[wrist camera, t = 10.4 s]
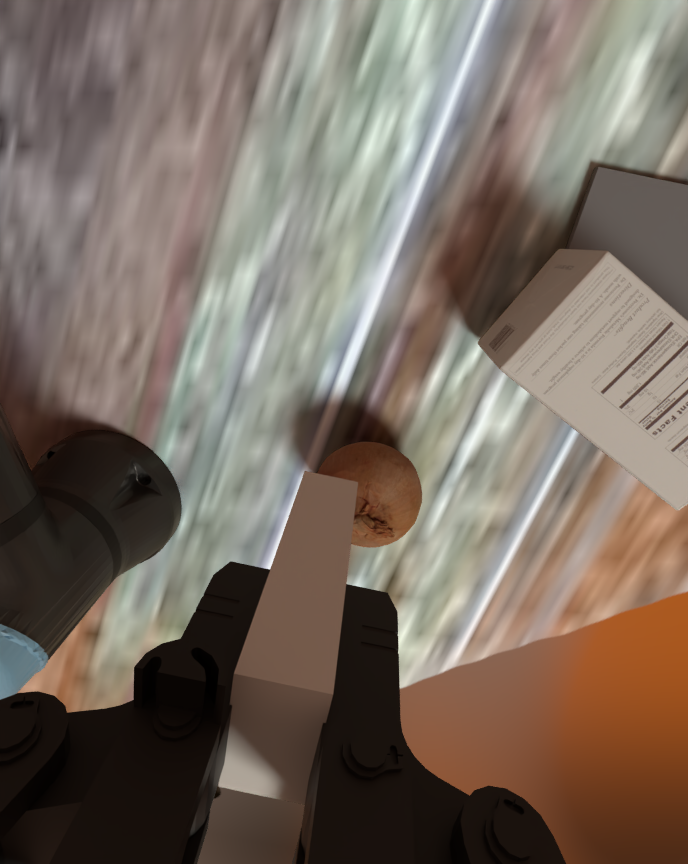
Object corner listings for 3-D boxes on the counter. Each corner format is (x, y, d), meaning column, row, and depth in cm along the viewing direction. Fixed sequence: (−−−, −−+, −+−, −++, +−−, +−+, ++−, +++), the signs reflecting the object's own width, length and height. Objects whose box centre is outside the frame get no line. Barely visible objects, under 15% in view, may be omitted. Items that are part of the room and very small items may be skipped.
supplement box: (496, 370, 30) (680, 517, 33) (610, 246, 27) (805, 419, 29) (475, 342, 39) (620, 459, 42) (558, 246, 36) (712, 379, 38)
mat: (746, 426, 40) (752, 430, 39) (519, 375, 41) (521, 378, 40) (865, 224, 34) (876, 224, 33) (594, 168, 34) (598, 166, 34)
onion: (437, 449, 44) (446, 505, 35) (393, 524, 48) (390, 592, 39) (346, 407, 44) (330, 453, 35) (308, 486, 48) (284, 546, 38)
